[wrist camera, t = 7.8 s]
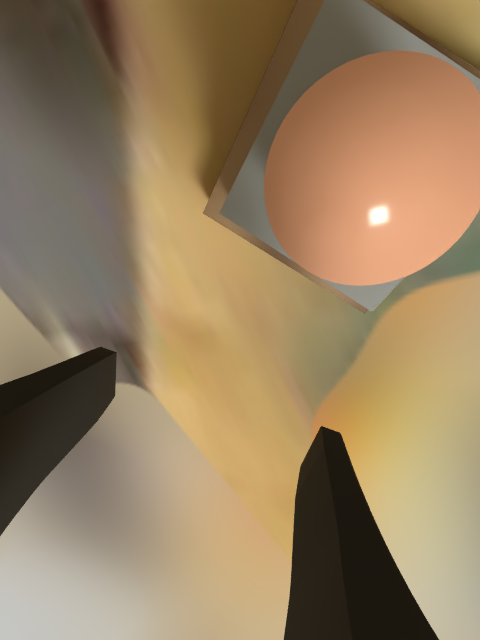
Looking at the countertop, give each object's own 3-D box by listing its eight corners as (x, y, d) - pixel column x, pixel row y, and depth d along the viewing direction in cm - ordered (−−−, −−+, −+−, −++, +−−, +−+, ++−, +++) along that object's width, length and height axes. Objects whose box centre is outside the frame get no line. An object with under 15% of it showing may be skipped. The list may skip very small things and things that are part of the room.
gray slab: (507, 131, 12) (546, 124, 10) (366, 291, 16) (371, 312, 14) (333, 14, 12) (334, -19, 10) (234, 206, 16) (219, 213, 14)
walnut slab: (510, 119, 14) (544, 111, 12) (360, 296, 19) (364, 313, 17) (316, -5, 14) (313, -37, 11) (217, 207, 18) (203, 213, 16)
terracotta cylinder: (463, 140, 10) (559, 126, 6) (368, 265, 13) (388, 317, 9) (334, 65, 10) (339, -1, 6) (263, 205, 13) (232, 228, 9)
